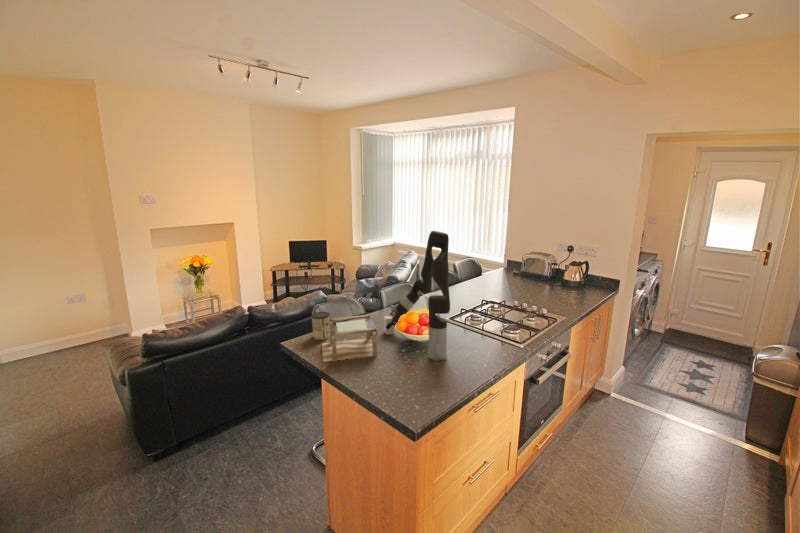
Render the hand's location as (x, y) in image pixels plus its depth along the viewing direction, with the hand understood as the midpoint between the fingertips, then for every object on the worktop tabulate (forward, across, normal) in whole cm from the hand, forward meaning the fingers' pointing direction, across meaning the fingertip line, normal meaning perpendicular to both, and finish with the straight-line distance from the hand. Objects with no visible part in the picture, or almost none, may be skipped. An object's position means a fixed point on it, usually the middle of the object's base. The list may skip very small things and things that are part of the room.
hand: (386, 326), depth 221 cm
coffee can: (+30, -6, -24) cm, 39 cm away
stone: (+2, 0, +4) cm, 5 cm away
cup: (-23, -20, +30) cm, 43 cm away
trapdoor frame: (+21, +17, -14) cm, 30 cm away
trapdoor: (+10, +17, -18) cm, 27 cm away
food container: (-5, -20, +11) cm, 24 cm away
